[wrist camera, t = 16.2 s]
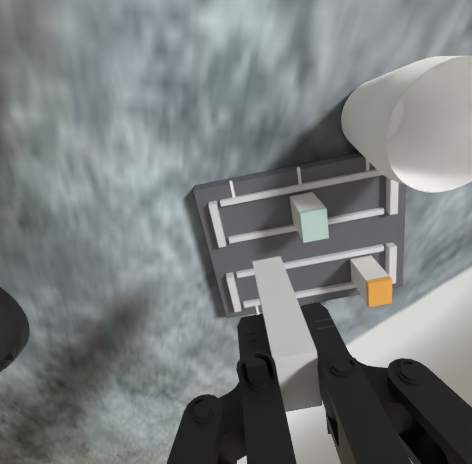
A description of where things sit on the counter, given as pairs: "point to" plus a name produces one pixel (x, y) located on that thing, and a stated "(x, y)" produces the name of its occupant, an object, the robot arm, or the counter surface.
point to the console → (287, 237)
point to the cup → (416, 123)
